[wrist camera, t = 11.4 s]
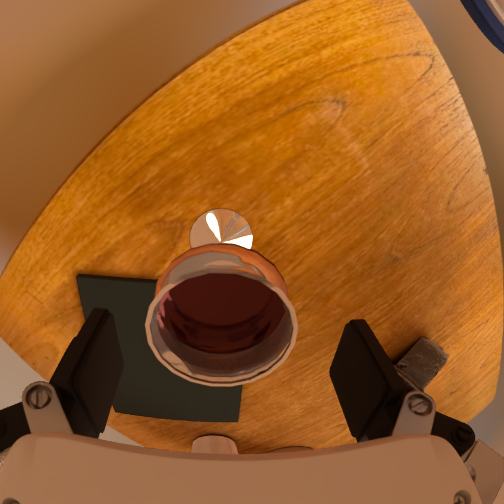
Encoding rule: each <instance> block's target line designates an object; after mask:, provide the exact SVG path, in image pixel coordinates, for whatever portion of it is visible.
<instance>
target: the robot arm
mask: <svg viewBox="0 0 504 504" xmlns="http://www.w3.org/2000/svg"><path fill="white" fill-rule="evenodd" d="M485 1H486V3H487V4H488V6H489V8H490V9H491V11H492V12H493V13H494V15H495V16H496V17H497V19H498V20H499V21H500V23H501V24H502V25H503V26H504V0H485ZM123 368H124V361H123V357H122V353H121V348H120V344H119V340H118V335H117V331H116V326H115V321H114V316H113V314H112V313H110V312H109V310H108V309H104V308H96V307H95V308H93V310H92V311H91V313H90V315H89V316H88V318H87V320H86V321H85V323H84V325H83V326H82V328H81V330H80V331H79V333H78V335H77V337H74V338H73V340H72V341H71V343H70V345H69V346H68V348H67V350H66V352H65V353H64V355H63V357H62V359H61V361H60V363H59V364H58V366H57V368H56V370H55V372H54V374H53V376H52V378H51V380H50V382H49V383H47V382H44V381H37V382H34V383H31V384H30V385H28V386H27V387H26V388H25V390H24V391H23V394H22V402H20V403H17V404H15V405H12V406H10V407H7V408H4V409H2V410H0V504H492V503H493V501H494V499H495V498H496V496H497V494H498V492H499V490H500V488H501V486H502V483H503V481H504V457H502V456H501V455H500V454H498V453H497V452H496V451H494V450H493V449H492V448H490V447H489V446H487V445H486V444H485V443H484V442H482V441H481V440H478V441H475V434H474V431H473V430H472V428H471V427H470V426H469V425H467V424H465V423H463V422H460V421H458V420H456V419H453V418H451V417H448V416H446V415H443V414H441V413H439V412H436V405H435V402H434V400H433V399H432V397H430V396H429V395H428V394H426V393H424V392H421V391H412V392H409V393H408V392H407V390H406V386H405V385H404V383H403V381H402V380H401V378H400V376H399V374H398V373H397V371H396V369H395V368H394V366H393V364H392V363H391V361H390V359H389V358H388V356H387V354H386V353H385V351H384V349H383V348H382V346H381V344H380V343H379V341H378V340H377V338H376V336H375V335H374V333H373V332H372V330H371V328H370V327H369V325H368V324H367V322H366V321H365V320H364V319H356V320H350V322H349V323H347V324H346V325H345V328H344V331H343V334H342V337H341V339H340V342H339V345H338V348H337V351H336V353H335V356H334V359H333V362H332V364H331V367H330V378H331V380H332V383H333V386H334V388H335V391H336V394H337V396H338V399H339V402H340V405H341V407H342V410H343V413H344V416H345V418H346V421H347V424H348V427H349V430H350V432H351V435H352V436H353V437H356V440H357V443H353V444H347V445H341V446H335V447H329V448H322V449H314V450H305V451H295V452H282V453H265V454H209V453H192V452H179V451H169V450H161V449H153V448H146V447H139V446H133V445H127V444H121V443H116V442H111V441H105V440H101V439H98V437H99V434H100V433H103V432H104V430H105V426H106V423H107V419H108V416H109V413H110V409H111V406H112V403H113V399H114V396H115V393H116V390H117V387H118V384H119V381H120V378H121V375H122V372H123Z"/></svg>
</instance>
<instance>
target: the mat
mask: <svg viewBox="0 0 504 504" xmlns="http://www.w3.org/2000/svg"><path fill="white" fill-rule="evenodd" d="M76 279H77V284H78V290H79V294H80V299H81V304H82V308H83V313H84V317H85V321H86V320H87V318H88V316H89V315H90V313H91V311H92V310H93V308H95V307H96V308H104V309H108V310H109V312H110V313H112V314H113V316H114V321H115V326H116V331H117V335H118V340H119V344H120V348H121V353H122V357H123V361H124V368H123V372H122V375H121V378H120V381H119V384H118V387H117V390H116V393H115V396H114V399H113V403H112V405H113V408H114V410H115V412H118V413H124V414H130V415H137V416H144V417H152V418H161V419H172V420H184V421H201V422H238V417H239V409H240V401H241V392H242V384H241V385H236V386H208V385H203V384H199V383H195V382H191V381H189V380H186V379H184V378H182V377H180V376H178V375H176V374H175V373H173V372H171V371H170V370H169V369H168V368H167V367H166V366H165V365H163V364H162V363H161V362H160V361H159V360H158V359H157V357H156V356H155V354H154V352H153V350H152V349H151V347H150V345H149V344H148V339H147V334H146V328H145V323H146V318H147V314H148V310H149V306H150V304H151V303H152V299H153V295H154V291H155V288H156V284H157V281H158V280H149V279H134V278H121V277H108V276H96V275H84V274H78V275H77V276H76Z"/></svg>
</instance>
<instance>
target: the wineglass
mask: <svg viewBox="0 0 504 504" xmlns="http://www.w3.org/2000/svg"><path fill="white" fill-rule="evenodd" d="M190 244H191V247H192V248H190V249H189V250H187V251H186V252H184V253H183V254H181V255H180V256H178V257H177V258H175V259H174V260H173V261H172V262H171V263H170V265H169V266H168V267H167V269H166V270H165V271H164V273H163V274H162V276H161V277H160V278H159V280H158V281H157V284H156V288H155V291H154V295H153V299H152V303H151V304H150V306H149V310H148V314H147V318H146V323H145V328H146V334H147V339H148V344H149V345H150V347H151V349H152V350H153V352H154V354H155V356H156V357H157V359H158V360H159V361H160V362H161V363H162V364H163V365H165V366H166V367H167V368H168V369H169V370H170V371H171V372H173V373H175V374H176V375H178V376H180V377H182V378H184V379H186V380H189V381H191V382H195V383H199V384H203V385H208V386H236V385H241V384H246V383H250V382H253V381H255V380H257V379H260V378H262V377H264V376H266V375H268V374H270V373H271V372H272V371H274V370H275V369H276V368H277V367H278V366H279V365H281V364H282V363H283V362H284V361H285V360H286V358H287V357H288V355H289V354H290V352H291V350H292V349H293V347H294V345H295V341H296V337H297V332H298V323H297V318H296V313H295V308H294V307H293V305H292V304H291V303H290V299H289V294H288V289H287V285H286V283H285V281H284V279H283V277H282V276H281V274H280V273H279V271H278V270H277V268H276V267H275V265H274V264H273V263H272V262H270V261H269V260H268V259H266V258H265V257H264V256H262V255H261V254H260V253H258V252H257V251H255V250H253V249H250V247H251V245H252V233H251V229H250V226H249V224H248V223H247V221H246V220H245V219H244V218H243V217H242V216H241V215H239V214H238V213H237V212H234V211H231V210H228V209H215V210H211V211H208V212H206V213H204V214H203V215H201V216H200V217H199V218H198V219H197V220H196V222H195V223H194V224H193V227H192V229H191V232H190Z"/></svg>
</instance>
